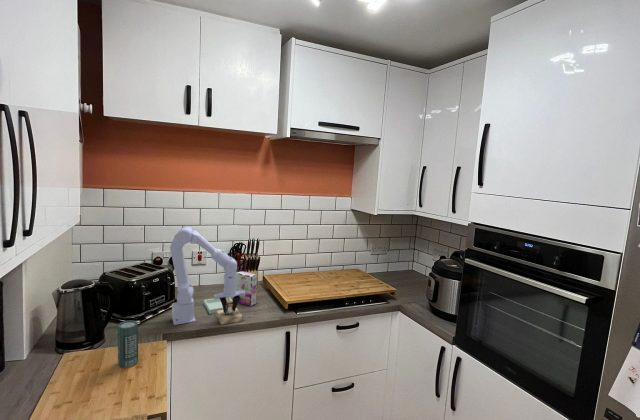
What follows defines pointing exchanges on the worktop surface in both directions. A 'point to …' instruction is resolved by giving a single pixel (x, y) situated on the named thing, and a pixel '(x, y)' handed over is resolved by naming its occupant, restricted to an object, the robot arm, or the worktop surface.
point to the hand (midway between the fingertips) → (229, 311)
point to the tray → (214, 305)
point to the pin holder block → (229, 316)
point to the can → (127, 344)
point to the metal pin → (229, 307)
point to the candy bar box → (247, 287)
